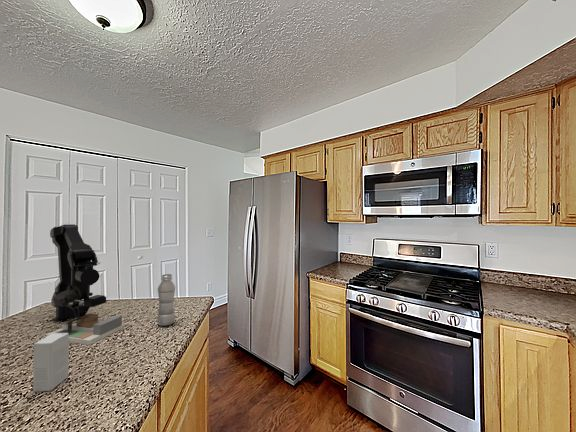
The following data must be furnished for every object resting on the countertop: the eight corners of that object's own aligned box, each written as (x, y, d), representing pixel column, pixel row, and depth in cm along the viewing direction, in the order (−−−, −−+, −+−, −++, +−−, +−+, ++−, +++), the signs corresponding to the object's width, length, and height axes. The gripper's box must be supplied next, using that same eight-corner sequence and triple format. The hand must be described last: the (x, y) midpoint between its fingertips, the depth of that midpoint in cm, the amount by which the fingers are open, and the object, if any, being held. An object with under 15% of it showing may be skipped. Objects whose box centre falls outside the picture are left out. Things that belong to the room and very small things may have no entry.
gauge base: (45, 338, 92) (46, 324, 92) (84, 323, 106) (84, 310, 106) (89, 344, 88) (89, 330, 88) (123, 328, 102) (123, 315, 102)
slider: (62, 334, 92) (62, 321, 92) (89, 323, 102) (89, 312, 102) (71, 335, 91) (71, 322, 91) (97, 324, 101) (98, 313, 101)
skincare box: (51, 377, 70) (52, 332, 70) (68, 376, 71) (69, 332, 71) (31, 392, 64) (32, 343, 64) (50, 391, 64) (51, 342, 65)
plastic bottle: (168, 328, 102) (169, 277, 102) (153, 327, 103) (154, 276, 103) (178, 322, 108) (179, 273, 108) (164, 320, 110) (164, 273, 110)
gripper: (37, 284, 94) (36, 327, 94) (78, 287, 90) (77, 333, 90) (69, 277, 105) (68, 316, 105) (107, 280, 101) (107, 321, 101)
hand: (79, 321), depth 100 cm, fingers closed
